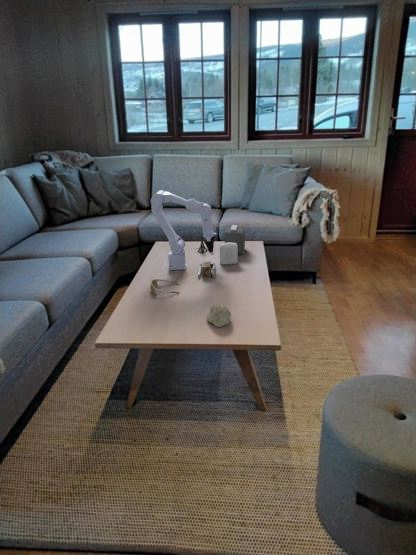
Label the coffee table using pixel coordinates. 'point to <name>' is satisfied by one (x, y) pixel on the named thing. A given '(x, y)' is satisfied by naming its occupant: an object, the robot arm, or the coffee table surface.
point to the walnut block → (206, 269)
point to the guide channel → (211, 268)
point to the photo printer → (228, 253)
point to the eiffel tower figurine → (202, 247)
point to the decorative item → (219, 315)
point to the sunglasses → (155, 283)
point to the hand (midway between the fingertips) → (211, 250)
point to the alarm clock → (235, 237)
